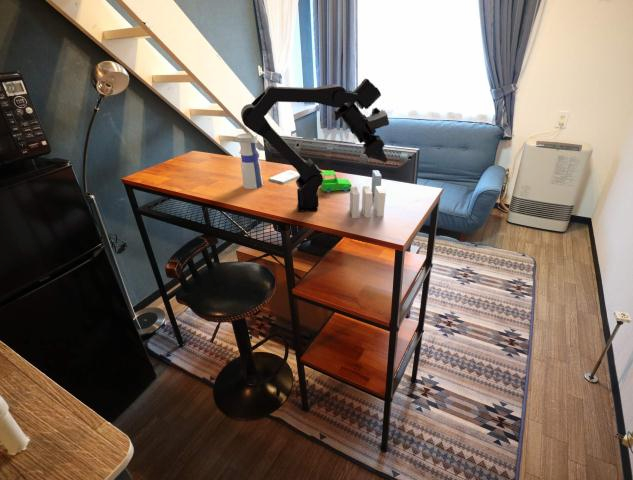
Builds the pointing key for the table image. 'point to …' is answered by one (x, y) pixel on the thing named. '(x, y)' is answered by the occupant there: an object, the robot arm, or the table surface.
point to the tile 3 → (379, 201)
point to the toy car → (334, 183)
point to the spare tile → (375, 180)
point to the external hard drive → (285, 177)
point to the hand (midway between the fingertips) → (382, 155)
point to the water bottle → (250, 161)
